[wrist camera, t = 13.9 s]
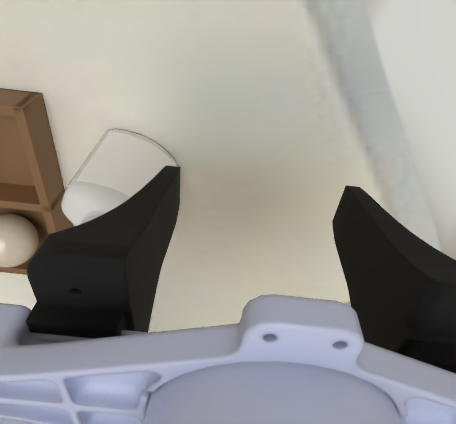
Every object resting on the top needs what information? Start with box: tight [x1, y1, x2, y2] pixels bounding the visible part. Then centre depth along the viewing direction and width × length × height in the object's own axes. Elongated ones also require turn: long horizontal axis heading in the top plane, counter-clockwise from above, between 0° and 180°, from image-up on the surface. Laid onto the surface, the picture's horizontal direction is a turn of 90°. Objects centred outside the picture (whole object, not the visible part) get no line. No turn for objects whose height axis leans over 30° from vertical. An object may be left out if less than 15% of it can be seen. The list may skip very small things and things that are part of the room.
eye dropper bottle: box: [61, 129, 177, 226], centre depth 22 cm, size 4×6×12 cm
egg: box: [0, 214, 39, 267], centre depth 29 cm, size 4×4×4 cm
